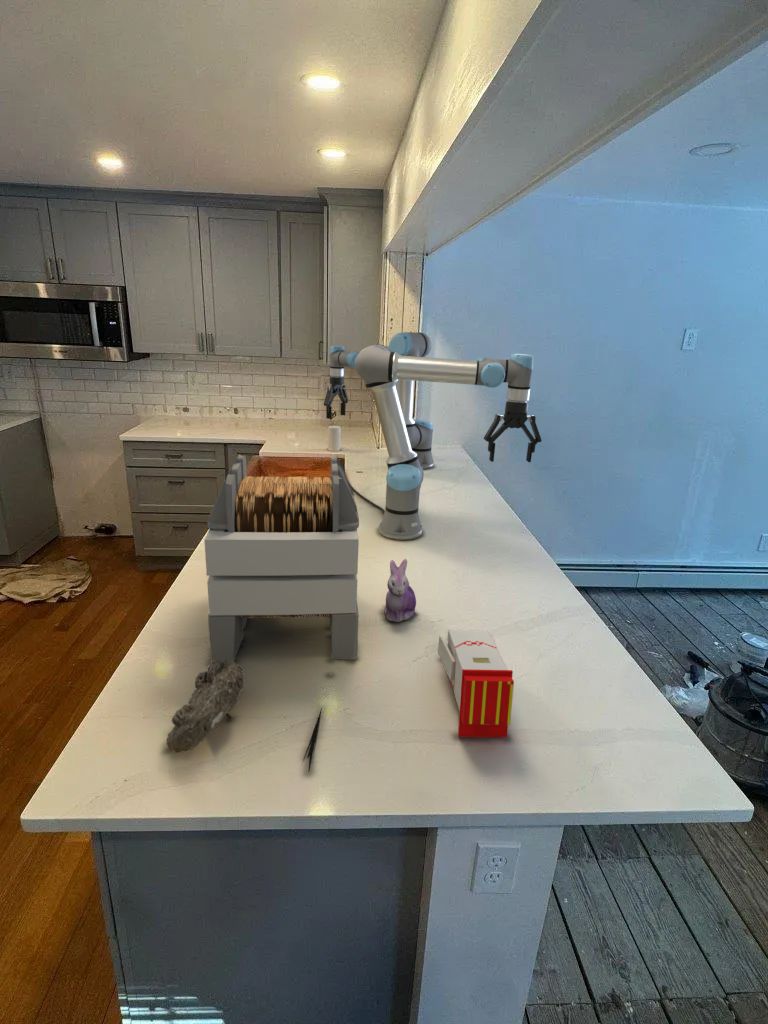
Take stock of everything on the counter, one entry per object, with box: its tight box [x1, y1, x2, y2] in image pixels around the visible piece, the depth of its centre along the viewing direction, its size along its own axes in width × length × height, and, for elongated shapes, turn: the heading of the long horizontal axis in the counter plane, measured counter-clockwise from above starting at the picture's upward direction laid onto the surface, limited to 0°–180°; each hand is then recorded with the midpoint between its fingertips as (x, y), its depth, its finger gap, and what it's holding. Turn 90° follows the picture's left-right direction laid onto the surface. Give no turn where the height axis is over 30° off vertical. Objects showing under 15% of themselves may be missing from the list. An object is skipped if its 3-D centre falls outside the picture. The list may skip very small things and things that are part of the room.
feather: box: [301, 673, 332, 771], centre depth 108 cm, size 2×28×2 cm
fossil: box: [166, 659, 245, 754], centre depth 106 cm, size 22×10×15 cm
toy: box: [437, 628, 515, 738], centre depth 117 cm, size 12×13×30 cm
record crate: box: [204, 454, 360, 662], centre depth 134 cm, size 34×33×41 cm
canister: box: [327, 425, 342, 452], centre depth 310 cm, size 7×7×13 cm
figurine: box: [384, 558, 417, 623], centre depth 145 cm, size 9×10×15 cm
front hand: (509, 461), depth 201 cm, fingers open, 13 cm apart
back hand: (335, 416), depth 304 cm, fingers open, 13 cm apart
